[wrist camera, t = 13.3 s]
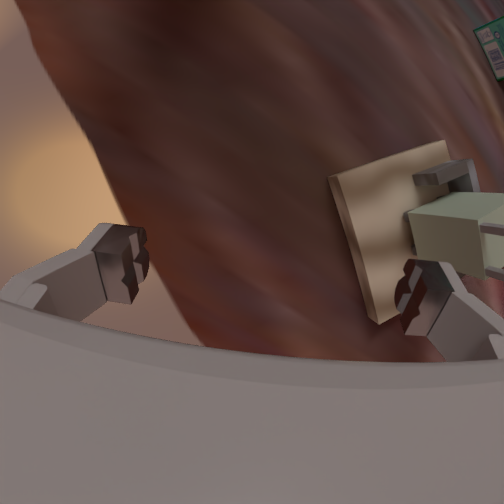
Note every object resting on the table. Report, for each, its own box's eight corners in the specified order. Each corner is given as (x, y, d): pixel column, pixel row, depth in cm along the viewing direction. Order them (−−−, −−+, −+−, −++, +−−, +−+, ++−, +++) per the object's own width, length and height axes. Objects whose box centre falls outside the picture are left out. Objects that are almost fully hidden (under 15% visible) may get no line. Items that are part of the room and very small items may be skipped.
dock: (326, 177, 31) (356, 172, 25) (431, 142, 32) (468, 135, 26) (368, 317, 34) (399, 338, 28) (459, 264, 36) (494, 275, 29)
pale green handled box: (398, 211, 30) (520, 225, 15) (443, 191, 31) (557, 196, 16) (409, 256, 31) (523, 293, 16) (452, 233, 32) (561, 255, 17)
